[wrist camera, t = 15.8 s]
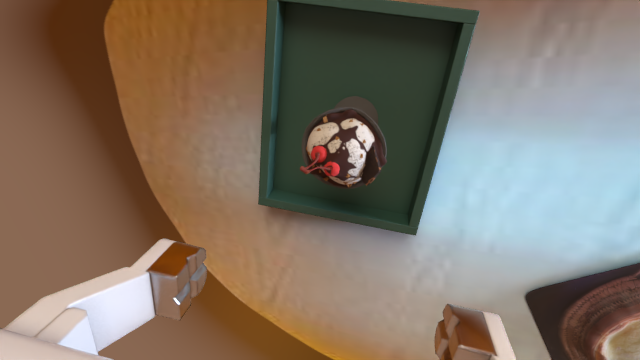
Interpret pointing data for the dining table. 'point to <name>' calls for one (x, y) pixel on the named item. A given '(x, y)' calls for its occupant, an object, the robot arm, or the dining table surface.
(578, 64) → the dining table surface
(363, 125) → the sundae
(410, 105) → the serving tray
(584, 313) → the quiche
